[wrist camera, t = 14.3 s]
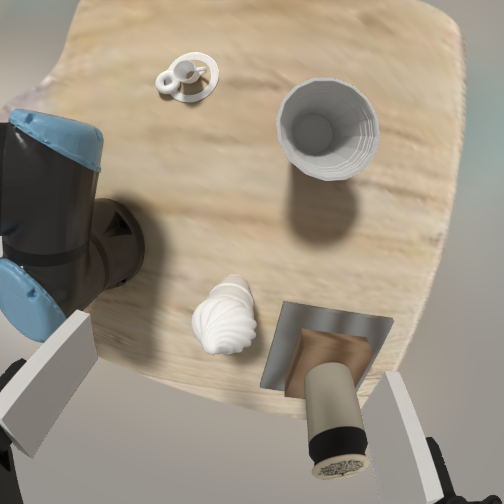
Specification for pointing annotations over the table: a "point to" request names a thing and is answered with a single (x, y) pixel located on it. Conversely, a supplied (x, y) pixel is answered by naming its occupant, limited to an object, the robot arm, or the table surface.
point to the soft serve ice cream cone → (226, 317)
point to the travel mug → (334, 423)
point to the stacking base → (320, 323)
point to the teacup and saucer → (178, 75)
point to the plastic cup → (328, 129)
